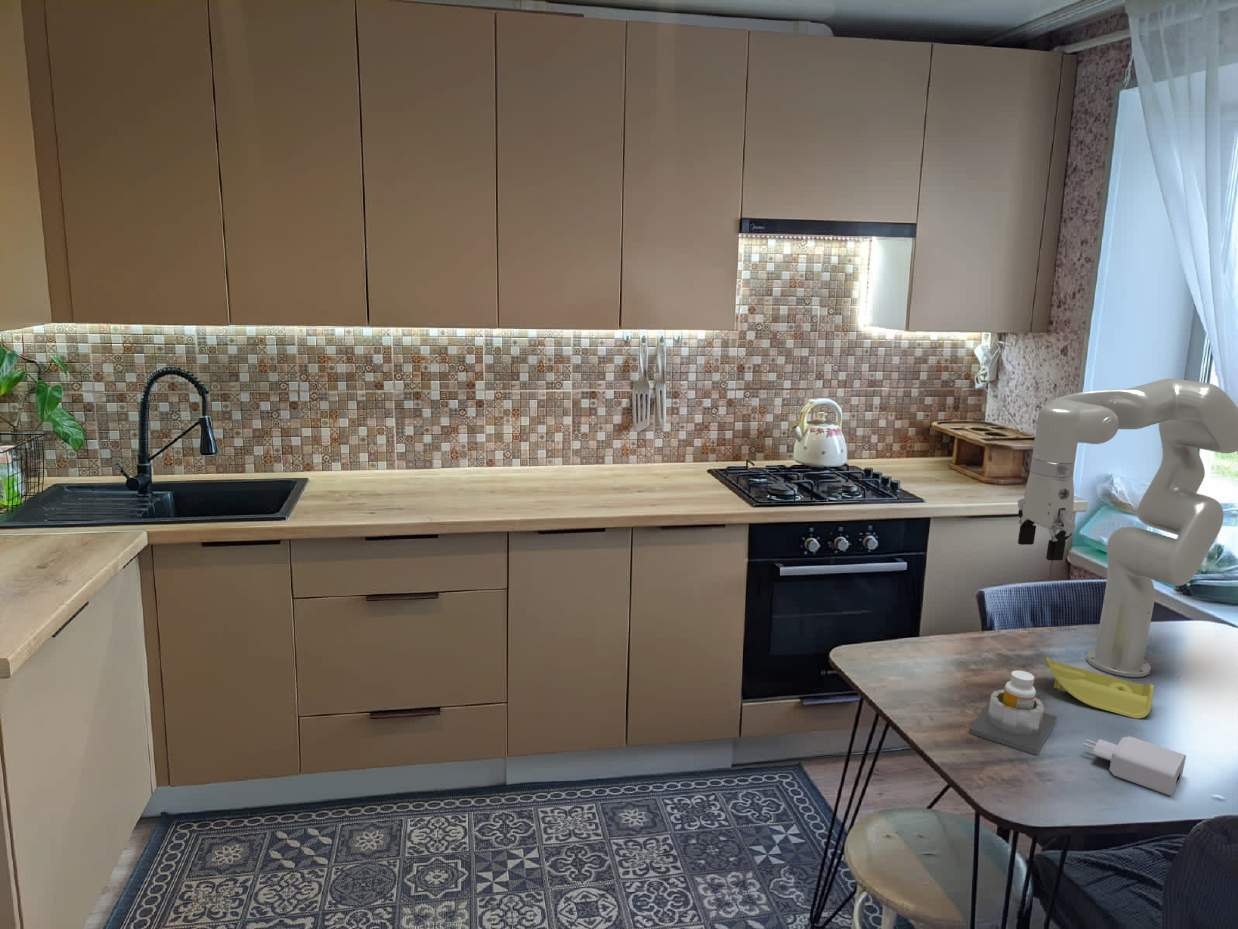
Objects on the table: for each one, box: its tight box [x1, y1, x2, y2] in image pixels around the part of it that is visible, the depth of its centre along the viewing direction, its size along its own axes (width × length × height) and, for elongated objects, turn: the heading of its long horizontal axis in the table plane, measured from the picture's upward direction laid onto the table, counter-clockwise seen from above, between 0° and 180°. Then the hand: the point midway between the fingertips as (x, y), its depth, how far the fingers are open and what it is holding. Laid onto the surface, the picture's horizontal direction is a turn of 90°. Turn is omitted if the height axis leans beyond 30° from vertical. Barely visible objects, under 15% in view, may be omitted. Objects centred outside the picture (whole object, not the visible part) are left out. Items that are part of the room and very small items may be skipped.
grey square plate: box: [968, 688, 1058, 756], centre depth 171 cm, size 16×12×6 cm
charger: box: [1082, 735, 1187, 797], centre depth 158 cm, size 5×9×15 cm
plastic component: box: [1043, 656, 1155, 719], centre depth 185 cm, size 20×7×10 cm
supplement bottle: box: [1003, 670, 1037, 710], centre depth 171 cm, size 5×5×10 cm
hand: (1039, 551), depth 180 cm, fingers open, 9 cm apart
